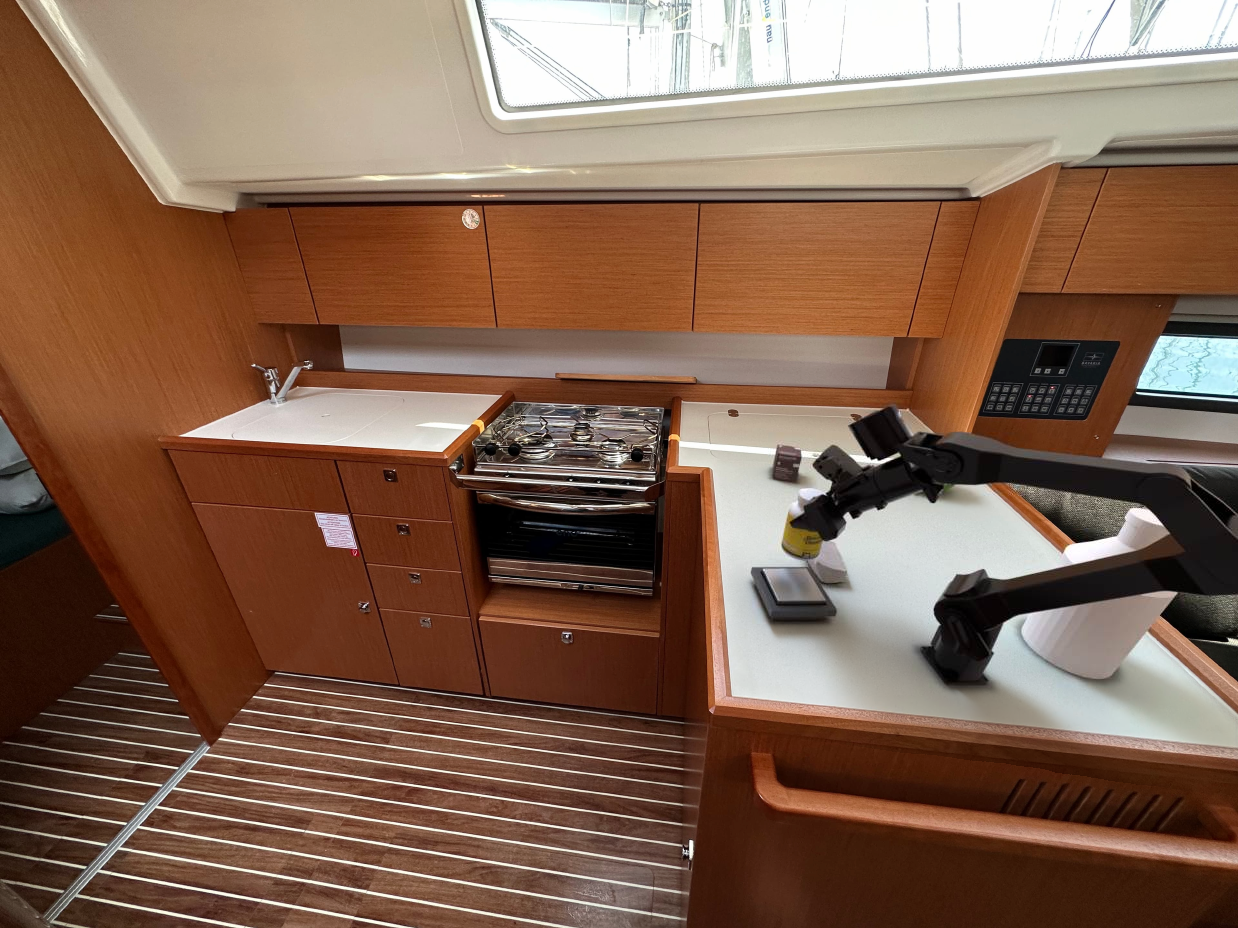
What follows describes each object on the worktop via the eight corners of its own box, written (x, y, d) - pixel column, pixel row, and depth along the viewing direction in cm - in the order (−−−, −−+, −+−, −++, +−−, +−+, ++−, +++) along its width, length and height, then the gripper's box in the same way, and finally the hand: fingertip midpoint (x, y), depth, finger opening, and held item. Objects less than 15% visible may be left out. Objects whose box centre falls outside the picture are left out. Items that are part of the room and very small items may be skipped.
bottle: (1003, 632, 77) (1076, 503, 66) (1044, 612, 82) (1119, 488, 70) (1090, 691, 68) (1193, 552, 56) (1132, 665, 72) (1235, 531, 61)
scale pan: (824, 606, 78) (826, 600, 77) (776, 606, 77) (778, 600, 77) (804, 574, 85) (806, 568, 84) (761, 574, 84) (762, 568, 84)
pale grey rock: (832, 595, 89) (851, 581, 84) (801, 585, 88) (819, 570, 84) (826, 552, 96) (844, 536, 91) (798, 542, 95) (814, 526, 91)
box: (771, 478, 122) (777, 453, 119) (771, 468, 127) (777, 443, 124) (796, 482, 120) (802, 457, 117) (795, 472, 126) (801, 447, 122)
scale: (832, 624, 78) (837, 610, 76) (768, 624, 77) (771, 611, 76) (806, 579, 87) (810, 566, 86) (748, 579, 87) (751, 566, 85)
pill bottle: (791, 564, 80) (805, 506, 75) (774, 541, 86) (785, 486, 81) (826, 560, 82) (842, 503, 76) (806, 538, 87) (820, 484, 82)
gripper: (875, 422, 77) (797, 460, 89) (831, 456, 65) (748, 495, 76) (913, 480, 76) (829, 512, 88) (876, 526, 64) (784, 556, 75)
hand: (799, 516), depth 82 cm, fingers closed on pill bottle, 6 cm apart
